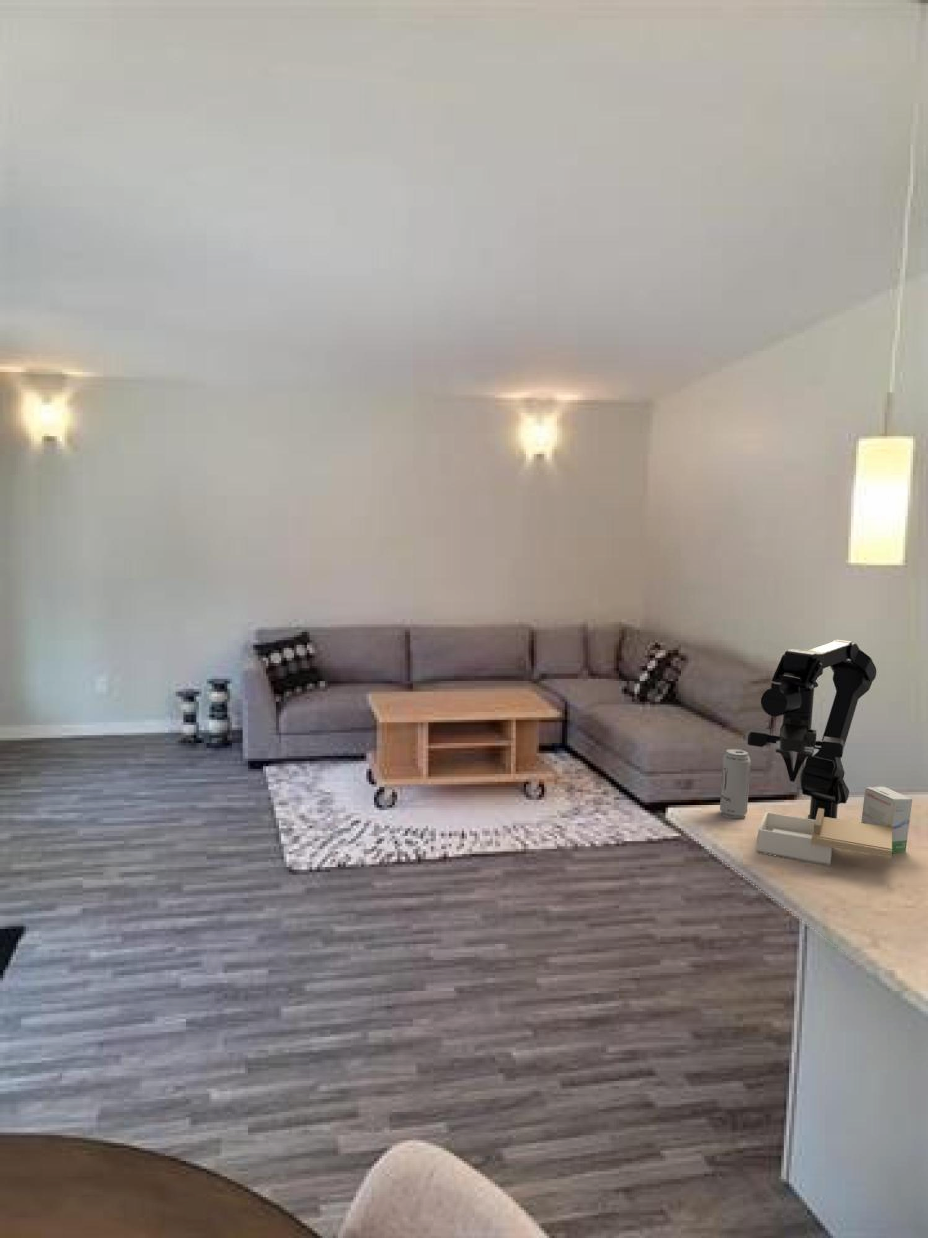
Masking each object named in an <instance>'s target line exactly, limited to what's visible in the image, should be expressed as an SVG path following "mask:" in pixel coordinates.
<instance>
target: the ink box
mask: <svg viewBox="0 0 928 1238" xmlns="http://www.w3.org/2000/svg"><path fill="white" fill-rule="evenodd" d="M912 803H913V798H910V797H908V796H906V795H904V794H902V793H899V792H897V791H894V790H892V789H890V788H888V787H885V786H869V787H865V789H864V796H863V804H862V805H863V806H862V814H861V822H860V823H865V824H872V825H878V826H884V827H890V828H892V854H896V853H906V852H907V851H906V850H907V843H908V835H909V828H910V821H911V812H912Z"/></svg>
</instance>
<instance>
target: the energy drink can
mask: <svg viewBox="0 0 928 1238" xmlns="http://www.w3.org/2000/svg"><path fill="white" fill-rule="evenodd" d="M725 752H726V753H725V754H724V755H723V757H722V758H723V759H722V768H721V769H722V772H721V773H722V774H721V784H720V785H721V786H720V787H721V788H720V803H719V811H721V814H722V815H723V817H726V818H730V819H742V818H744V817H745V815H747V813H748V806H749V805H748V804H749V790H750V789H749V787H750V774H751V762H752V761H751V758H750V756H749V752H748V751H746V750H744V749H739V748H730V749H726V751H725Z"/></svg>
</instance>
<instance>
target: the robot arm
mask: <svg viewBox="0 0 928 1238" xmlns="http://www.w3.org/2000/svg"><path fill="white" fill-rule="evenodd" d="M829 667H830V669H831V670H832V672H833V675H832V682H833V685H834V687H835V691H836V692H835V694H834V695H835V696H834V697H833V702H832V706H831V709H830V713H829V715H828V718H827V722H826V725H825V729H824V732H823V735H822V738H821V739H819V740H818V739H817V729H812V721H813V720H812V718H813V709H814V706H813V705H814V695H815V694H814V693H815V689H816V688H818V687H819V683H818V682H817V680H818V678H819V677H820V676H822V675H823V672H824V669H826V668H829ZM876 676H877V667H876V664H875V663H874V660H873V659H872V657H870V656H869V655H868V654H867V653H865V652H864V651H863V650H861V649H860V648H859V646H858V644H857V643H856V642H854V641H850V640H842V639H835V640H831V642H829V643H825V644H822V645H820V646H817V647H814V648H811V649H798V648H789V649H787V650H786V651H785V652H784V654H783V655H782V656H781V658H780V661H779V663H778V665H777V667H776V669H775V672H774V674H773V675H772V678H771V681H772V682H771V683H770V688H769V689H766V690H765V691H764V692H763V694H762V696H761V697H760V704H761V708H762V710H763V711H764V712H765V713H766V714H767V715H769V716H771V717H779V716H780V717H781V716H782V723H781V726H780V729H779V734H774V733H773V734H772V733H771V729H769V728H762V727H755V726H754V727H752V729H751V730H750V731H749V732H748V735H747V745H748V746H753V747H760V748H763V747H765V746H766V745H767V743H770V744H775V746H776V748H775V753H777V754H778V753H779V754H780V755H781V757H782V759H783V761H784V763H785V767H786V770H787V771H786V772H787V774H788V777H789V781H790V782H792V783H795V781H796V778H797V776H798V774H799V771H800V769H801V767H802V765H803V763H804V762H805V764H804V766H803V769H802V770H801V773H800V777H799V778H800V780H799V781H800V787H801V793H802V795H803V796H809V797H810V802H809V803H810V805H809V806H810V807H809V814H808V815H807V817H806V818H807V819H813V820H816V816H817V811H818V808H822V809H824V817H829V818H835V819H838V806H839V805H840V804H847V801H848V800H849V794H850V790H849V787H848V786H847V784H846V782H845V779H844V777H845V770H844V766H843V764H842V760H841V759H842V758H843V753H844V750H845V749H844V748H845V746H846V742H847V738H848V735H849V733H850V732H849V731H850V728H851V725H852V722H853V718H854V714H855V712H856V709H857V705H858V701H859V699H860V698H862V696H864V695H865V694H866V693H868V691H870V688H871V686H872V684H873V682H874V680H875V679H876ZM815 750H817V752H816V753H814V752H815ZM793 752H795V753H796V759H795V764H794V753H793Z"/></svg>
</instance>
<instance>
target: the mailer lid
mask: <svg viewBox="0 0 928 1238" xmlns="http://www.w3.org/2000/svg"><path fill="white" fill-rule="evenodd" d="M811 844H815V845H821V846H826V847H832V848H833V849H838V850H844V851H849V852H855V853H862V854H866V855H873V856H879V857H883V858H891V859H892V855H893V853H892V828H890V827H884V826H878V825H872V824H865V823H861V822H859V821H851V820H847V819H840V818H837V819H835V818H829V817H824V809H822V808H818V811H817V816H816V820H815V824H814V830H813V834H812V841H811Z"/></svg>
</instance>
